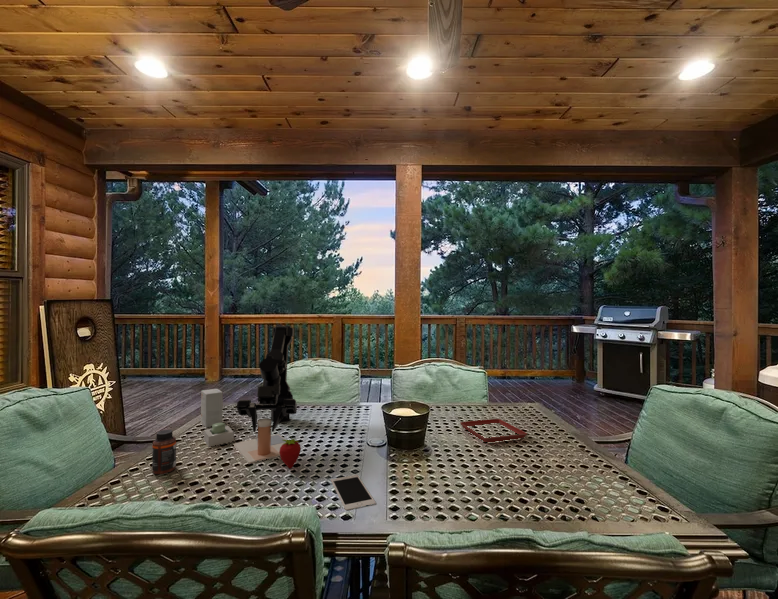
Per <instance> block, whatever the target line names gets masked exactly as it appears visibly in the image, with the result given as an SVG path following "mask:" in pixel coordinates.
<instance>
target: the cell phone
mask: <svg viewBox="0 0 778 599" xmlns="http://www.w3.org/2000/svg"><path fill="white" fill-rule="evenodd" d="M330 481H331V484H332V487H333V488H334V490H335V492H336V494H337V496H338V499H339V500H340V503H341V504H342V507H343V509H344V510H345V511H350V510H355V509H354V508H356V509H359V508H358V507H361V506H366V505H371V504H375V503H376V504H377V502H376V501H375V499H374V498H373V496H372V495H371V493H370V492H369V490H368V488H367V487H366V485H365V484H364V483H363V481H362V479H361V478H360V476H359V474H353V475H347V476H343V477H337V478H331V479H330ZM376 504H375V505H376ZM371 506H372V505H371ZM366 507H367V506H366ZM361 508H362V507H361Z"/></svg>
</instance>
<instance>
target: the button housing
mask: <svg viewBox="0 0 778 599" xmlns="http://www.w3.org/2000/svg"><path fill="white" fill-rule="evenodd" d="M234 433H235V432H234V430H232V428H231V427H230V426H229V425H225V432H223V433H218V434H212V428H207V429H204V430H203V442H205V444H206V446H207V447H208V448H211V446H212V447H216V446H220V445H219V444H221V445H224V444H223V443H226V444H228V443H227V442H230V443H233V442H232V441H235V440H234V439H235V438H234V437H235V436H234V435H235V434H234ZM215 445H216V446H215Z"/></svg>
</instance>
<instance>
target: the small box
mask: <svg viewBox="0 0 778 599" xmlns="http://www.w3.org/2000/svg"><path fill="white" fill-rule="evenodd" d="M200 392H201V394H200V395H201V396H200V423H201V424H202V425H203V427H205V428H210V427H211V426H212V425H213V424H215V423H223V409H224V408H223V407H224V405H223V401H224V400H223V398H224V397H223V396H224V392H223V391H222V390H220V389H219V388H211V389H204V390H201V391H200ZM211 428H212V427H211Z"/></svg>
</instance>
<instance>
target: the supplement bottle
mask: <svg viewBox="0 0 778 599" xmlns="http://www.w3.org/2000/svg"><path fill="white" fill-rule="evenodd" d="M173 434H174V433H173V430H172V429H162V430H159V431H157V432H156V436H155V440H153V441H152V445H151V446H152V450H151V453H152V454H151V455H152V456H151V457H152V458H151V459H152V460H151V461H152V462H151V463H152V464H151V467H152V473H153V474H154V475H165V474H169V473H171V472H172V471H173V472H174V471H175V469H176V468H177V439H176V437H175V436H173ZM168 472H169V473H168Z"/></svg>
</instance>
